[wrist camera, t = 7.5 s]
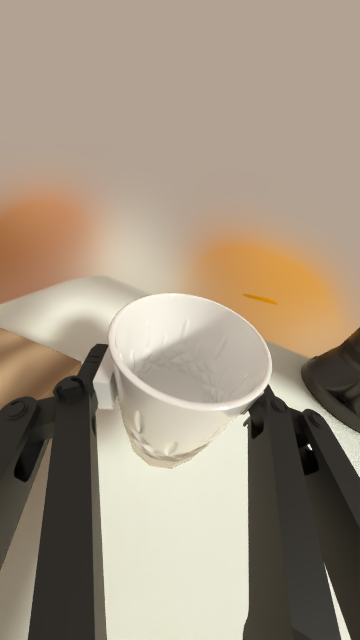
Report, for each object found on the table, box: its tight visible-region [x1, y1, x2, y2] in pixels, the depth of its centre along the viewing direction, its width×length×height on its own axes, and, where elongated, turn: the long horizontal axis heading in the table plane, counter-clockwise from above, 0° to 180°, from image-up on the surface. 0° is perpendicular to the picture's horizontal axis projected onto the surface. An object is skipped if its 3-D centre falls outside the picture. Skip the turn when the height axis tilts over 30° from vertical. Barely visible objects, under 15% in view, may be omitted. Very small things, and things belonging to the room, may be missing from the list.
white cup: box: [108, 293, 272, 469], centre depth 11 cm, size 8×8×10 cm
